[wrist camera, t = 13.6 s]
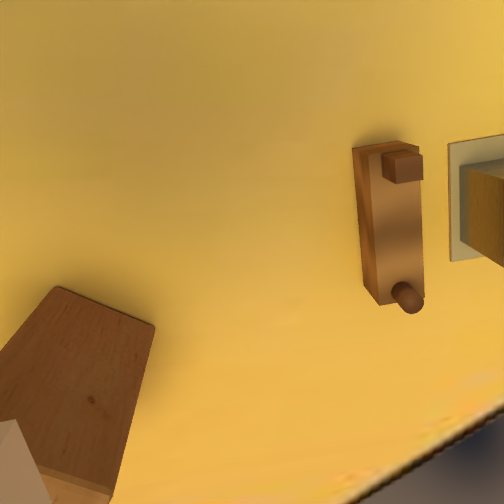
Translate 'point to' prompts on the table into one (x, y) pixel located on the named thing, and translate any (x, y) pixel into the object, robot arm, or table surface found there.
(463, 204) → the lever cap
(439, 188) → the table surface
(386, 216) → the plane body
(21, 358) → the wooden block
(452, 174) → the mat
